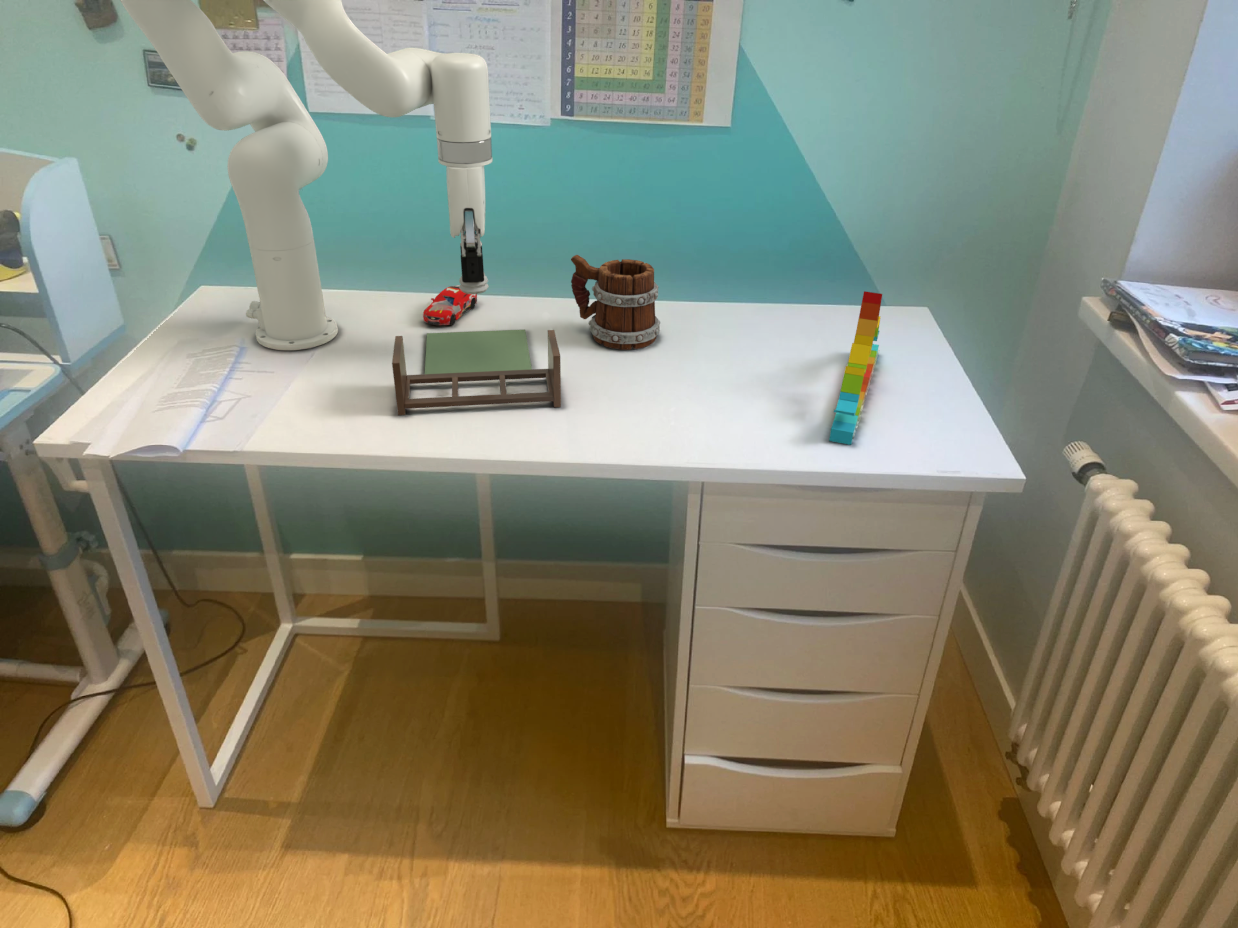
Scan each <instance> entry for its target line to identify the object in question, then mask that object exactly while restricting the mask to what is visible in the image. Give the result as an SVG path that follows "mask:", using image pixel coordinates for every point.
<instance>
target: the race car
mask: <svg viewBox="0 0 1238 928" xmlns="http://www.w3.org/2000/svg"><path fill="white" fill-rule="evenodd" d="M460 285H461V284H459V285H458V284H457V285H450V286H447V287H445V288H444V289H443V290H442V291H440V292H439V293H438V294H437V295H436V296H435V298H432V297H431V298H430V300H431V303H430V304H429V305H427V307H426V308H425V309H424V310H423V312H422V318H423V321H424V322H425V323H426V324H429V325H433V326H454V325H455V323H456V321H457V320H459V319H460V318H461V317H462V316H464V315H466V313H467V312H469V311H470V310H473V309H474V308H475V307H476V304H477V303H478V294H467V293H464V292H462V291H461V290H460V288H459V286H460Z"/></svg>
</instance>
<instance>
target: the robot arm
mask: <svg viewBox="0 0 1238 928" xmlns="http://www.w3.org/2000/svg"><path fill="white" fill-rule="evenodd" d="M119 1H120V3H121V5H122V6H123V7H124V10H126V12H127V14H128V15H129V17H131V19H132V20H133V22H134V23H135V24H136V26H137V27H138V28H139V30H140V31H141V32H142V33H143V35H144V36H145V37H146V38H147V40H148V41H149V42H150V43H151V45H152V47H153V48H154V49H155V51H156V52H157V54H158V56H159V57H160V59H161V61H162V62H163V64H164V65H165V67H166V68H167V70H168V71H169V73H170V74H171V76H172V77H173V79H174V80H175V82H176V83H177V85H178V87H179V88H180V89H181V91H182V92H183V94H184V95H185V97H186V98H187V100H188V101H189V103H190V104H191V105H192V107H193V109H194V110H195V112H196V113H197V114H198V115H199V117H200V118H201V119H202V121H204V123H206V125H207V126H209V127H211V128H213V129H215V130H218V131H232V130H237V129H241V128H243V127H245V126H249V125H250V126H251V128H252V129H253V131H254V132H251V133H250V134H248V135H245V136H244V137H242V138H241V139H240V140H238V141H237V142H236V143H235V144H234V146H233V147H232V148H231V150H230V152H229V154H228V159H227V176H228V179H229V182H230V184H231V188H232V190H233V192H234V195H235V198H236V200H237V202H238V205H239V208H240V212H241V216H242V220H243V224H244V229H245V233H246V239H247V243H248V248H249V252H250V256H251V263H252V268H253V273H254V279H255V284H256V289H257V295H258V299H259V301H256V300H253V301H250V303H249V308H247V310H246V311H245V316H246V318H249V319H253V320H257V321H258V327H257V328H256V330H255V338H256V341H257V343H258V344H259V345H261V346H262V347H265V348H268V349H271V350H277V351H300V350H307V349H312V348H317V347H319V346H321V345H324V344H326V343H328V342H330V341H332V340H333V339H334V338H335V337H336V336H337V335H338V332H339V328H338V323H337V322H336V320H335V319H333V318H331V317H329V316H327V315H326V308H325V302H324V296H323V287H322V281H321V275H320V269H319V262H318V257H317V249H316V243H315V242H316V241H315V238H314V231H313V226H312V223H311V218H310V215H309V213H308V210H307V208H306V205H305V203H304V202H303V200H302V197H301V194H300V190H301V189H303V188H304V187H306V186H308V185H310V184H312V183H313V182H315V181H317V180H318V179H320V178H321V176H323V174H324V173H325V171H326V170H327V166H328V164H329V152H328V147H327V146H328V145H327V143H326V141H325V139H324V137H323V135H322V132H321V131H320V129H319V128H318V126H317V124H316V123H315V120H314V119H313V118H312V116H311V114H310V113H309V111H308V110H307V108H306V106H305V104H304V103H303V101H302V100H301V97H299V95H298V93H297V92H296V90H295V89H294V87H293V85H292V83H291V81H289V80H288V77H287V76H286V75H285V73H284V72H283V71H282V69H280V67H279V66H278V65H277V64H275V62H274V61H272V60H271V59H270V58H269V57H267V56H265V55H264V54H261V53H259V52H257V51H256V52H255V51H251V50H241V51H236V52H232V50H231V49H230V48H229V47H228V45H227V44H226V43H225V41H224V40H223V38H222V37H221V36H220V34H219V33H218V31H217V29H216V27H215V25H214V24H213V23H212V21H211V19H210V18H209V16H208V15H207V14H205V12H204V11H203V10H202V9H201V8H200V7H199V6H198V5H197V4H196V3H194V1H192V0H119ZM262 1H263V2H264V3H265V4H266V5H268V6H269V7H270V8H271V9H272V10H273V11H275V12H276V13H277V14H278V15H280V16H281V17H282V18H283V19H284V20H286V21H287V22H288V23H289V24H290V25H292V26H293V27H294V28H295V29H296V30H297V31H298V32H299V33H300V34H301V35H302V37H303V39H304V41H305V44H306V45H307V47H308V49H309V50H310V52H311V53H312V55H313V57H314V59H315V60H316V61H317V63H318V64H319V65H320V67H321V69H322V70H323V71H324V72H325V73H326V75H328V76H329V78H330V79H331V80H333V81H334V83H336V84H337V85H338V86H339V87H341V88H342V89H343V90H344V91H345V92H347V93H348V94H350V96H351V97H353V98H354V99H355V100H356V101H357V102H358V103H360V104H361V105H363V106H364V107H365V108H367V109H369V110H370V111H371V112H373V113H376V114H377V115H380V116H382V117H385V118H400V117H403V116H405V115H407V114H409V113H411V112H413V111H416V110H417V109H421V108H423V107H426V106H429V105H433V107H434V108H433V111H434V122H435V135H436V148H437V160H438V161H437V162H438V164H439V165H442V166H445V167H446V171H445V172H446V191H447V192H446V194H447V206H448V207H447V208H448V220H449V233H450V236H451V237H452V238H453V239H455V238H456V237H459V236H460V243H461V246H462V247H461V246H460V247H459V248H460V267H461V276H462V281H463V282H464V283H471V282H483V281H484V273H485V269H484V255H483V245H482V246H481V245H480V241H481V237H482V238H483V236H485V230H486V229H485V228H486V178H485V177H486V173H485V166H487V165H490V164H492V163H493V162H494V161H493V160H494V159H493V144H492V127H491V126H492V125H491V103H490V102H491V101H490V83H489V82H490V81H489V69H488V64H487V61H486V60H485V58H484V57H483V56H481V55H479V54H477V53H476V54H475V53H470V52H469V53H468V52H448V53H447V52H446V53H443V52H438V51H433V50H429V49H425V48H420V47H404V48H401V49H398V50H394V51H391V52H388V53H387V52H386V51H384V50H383V49H381V48H380V47H379V46H378V45H377V44H375V42H373V41H372V40H371V39H370V38H369V37H367V36H366V35H365V34H364V33H363V32H362V31H361V30H359V28H358V27H357V26H356V25H355V24H354V23H353V22H352V20H351V19H350V17H349V15H348V14H347V12H346V11H345V8H344V5H343V0H262ZM476 239H477V243H476V242H475V240H476ZM465 240H466V242H465ZM465 250H466V252H465ZM477 254H478V255H477Z"/></svg>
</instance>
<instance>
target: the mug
mask: <svg viewBox="0 0 1238 928" xmlns="http://www.w3.org/2000/svg"><path fill="white" fill-rule="evenodd" d="M570 261H571V263H572V264H573V265H574V267H575V271H574V272H573V273H572V276H571V280H570V283H571V285H570V286H571V291H572V294H573V297H574V300H575V303H576V305H577V307H578V308H579V317H580V319H583V320H587V319H589V318H590V317H591V316H592V315H593V316H592V317H591V319H590V320H589V321H588V325H589V330H590V332H591V334H592V337H593V339H594V341H595V342H596V343H597V344H599V345H601V346H602V345H603V346H604V347H606V348H608V349H609V348H610V349H612V350H621V351H631V350H632V348H633V349H634V350H639V349H644V348H646V347H649V346H651V345H653V343H654V342H656V340H657V337H658V335H660V329H661V328H660V326H661V320H660V319H659V318H658V317H657V316H656V302H655V301H656V300H658V299H659V298H658V297H659V288H660V287H659V285H658V284H657V283H656V281H655V268H654V267H653V266H652V264H649V263H648V262H644V261H642V260H637V259H627V258H624V259H621V261H620V260H619V259H613V260H609V261H605V262H604V263H603V264H601V265H600V266H599V267H595V266H592V265H591V264H589V262H588V261H587V260H586V259H585V258H584V257H582V256H580V255H579V254H575V255H573V256H572V257H571V258H570ZM589 280H591V281H592V280H593V281H595V283H594V284H593V286H592V287H591V291H592V292H593V294H592V295H593V297H594V298H595V300H594V301H593V302H592V303H591V304H590V296H591V292H590V290H589V289H587V287H586V285H587V283H588V281H589ZM589 304H590V305H589Z"/></svg>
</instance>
